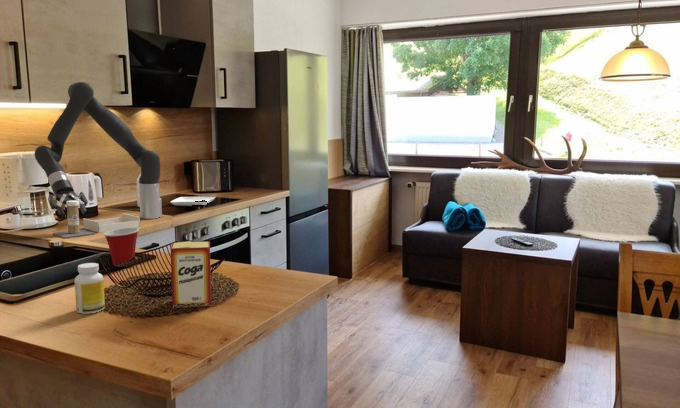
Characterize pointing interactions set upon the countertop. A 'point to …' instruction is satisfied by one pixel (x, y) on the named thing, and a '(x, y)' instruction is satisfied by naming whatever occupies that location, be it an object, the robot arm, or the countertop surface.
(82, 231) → the coaster
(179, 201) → the salad plate
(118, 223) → the white shallow box
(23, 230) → the countertop surface
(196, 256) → the baking soda box
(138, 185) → the milk carton
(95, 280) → the pill bottle
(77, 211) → the sprinkles bottle
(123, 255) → the plastic cup
